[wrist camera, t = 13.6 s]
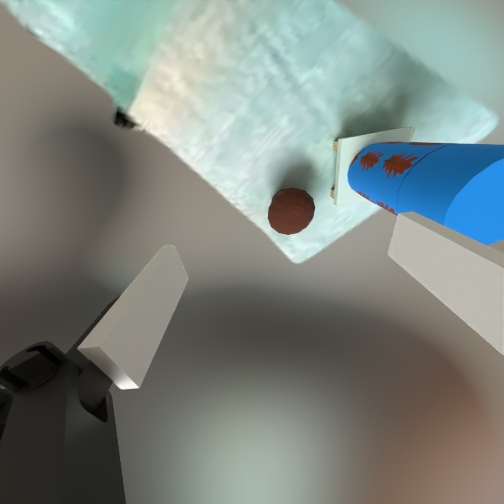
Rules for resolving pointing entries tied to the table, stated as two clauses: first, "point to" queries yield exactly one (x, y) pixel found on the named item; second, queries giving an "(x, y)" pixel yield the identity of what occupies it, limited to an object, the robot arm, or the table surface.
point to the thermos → (436, 183)
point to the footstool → (350, 149)
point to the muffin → (291, 211)
